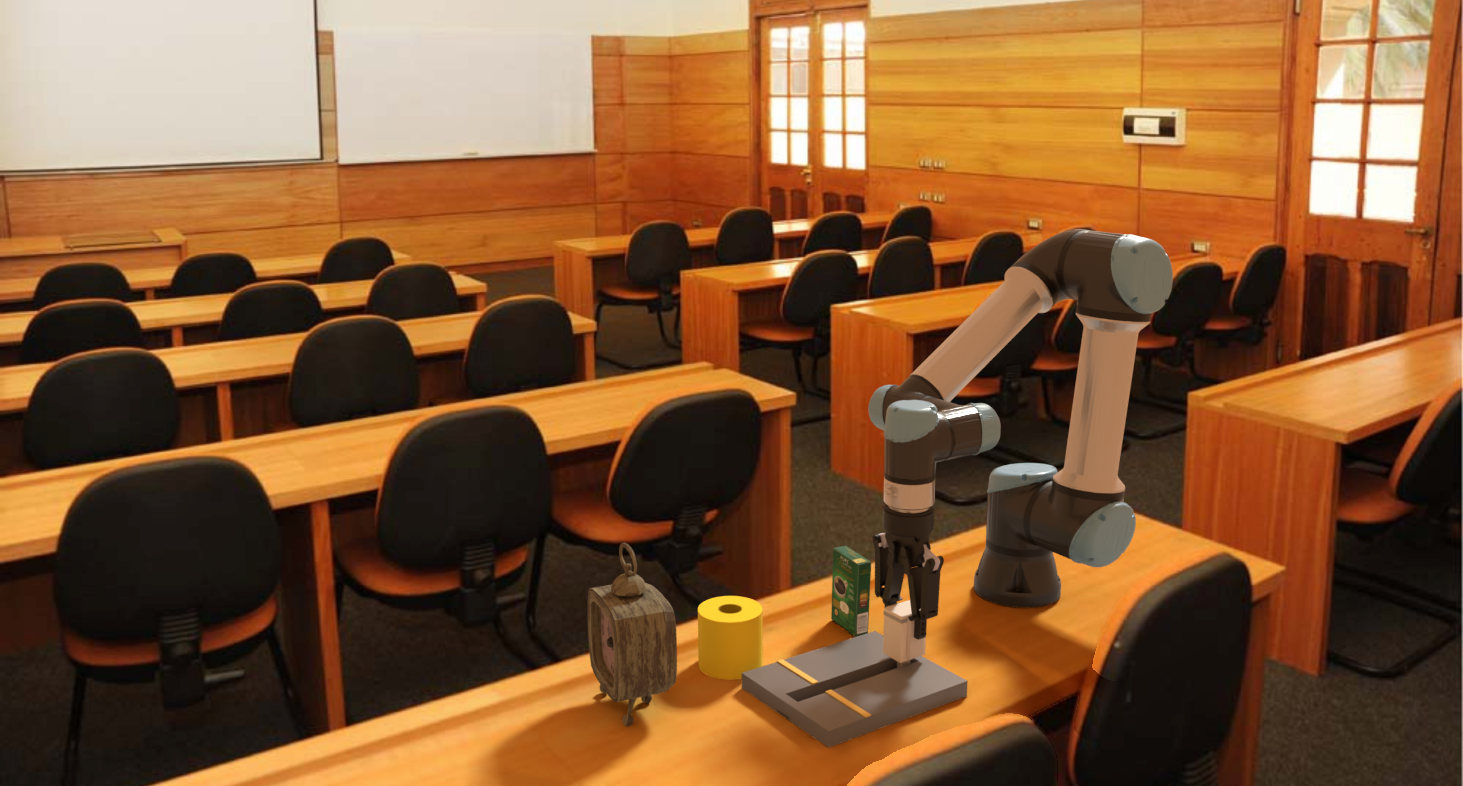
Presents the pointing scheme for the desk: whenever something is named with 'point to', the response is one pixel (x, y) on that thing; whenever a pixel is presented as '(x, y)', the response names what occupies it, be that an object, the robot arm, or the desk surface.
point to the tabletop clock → (631, 638)
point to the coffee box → (850, 590)
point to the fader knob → (897, 632)
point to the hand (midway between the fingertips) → (904, 650)
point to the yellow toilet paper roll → (730, 636)
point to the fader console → (851, 688)
